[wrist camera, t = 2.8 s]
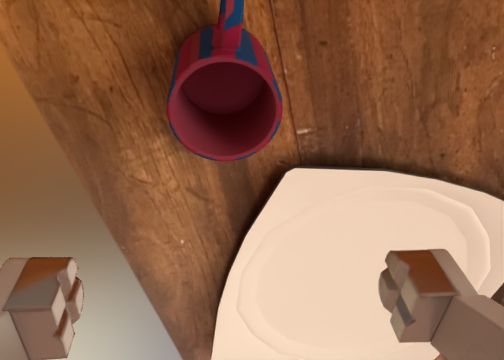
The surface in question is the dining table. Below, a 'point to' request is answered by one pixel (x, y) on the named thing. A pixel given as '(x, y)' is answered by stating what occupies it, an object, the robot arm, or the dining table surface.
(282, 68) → the dining table surface
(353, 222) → the plate
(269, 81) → the mug
